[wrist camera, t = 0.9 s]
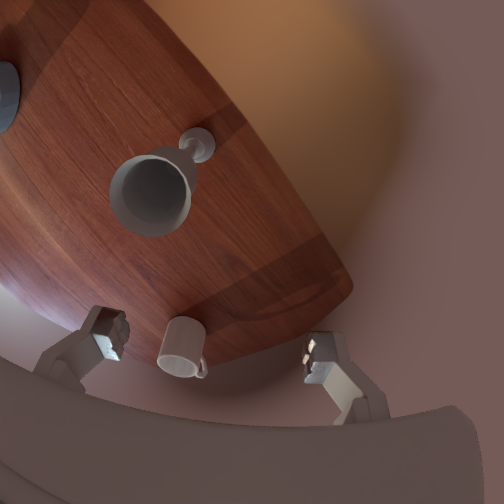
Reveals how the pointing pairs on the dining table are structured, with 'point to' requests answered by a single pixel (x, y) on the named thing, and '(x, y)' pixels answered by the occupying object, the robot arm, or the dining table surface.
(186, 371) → the mug
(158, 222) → the chalice
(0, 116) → the bowl
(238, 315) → the dining table surface
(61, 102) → the dining table surface
